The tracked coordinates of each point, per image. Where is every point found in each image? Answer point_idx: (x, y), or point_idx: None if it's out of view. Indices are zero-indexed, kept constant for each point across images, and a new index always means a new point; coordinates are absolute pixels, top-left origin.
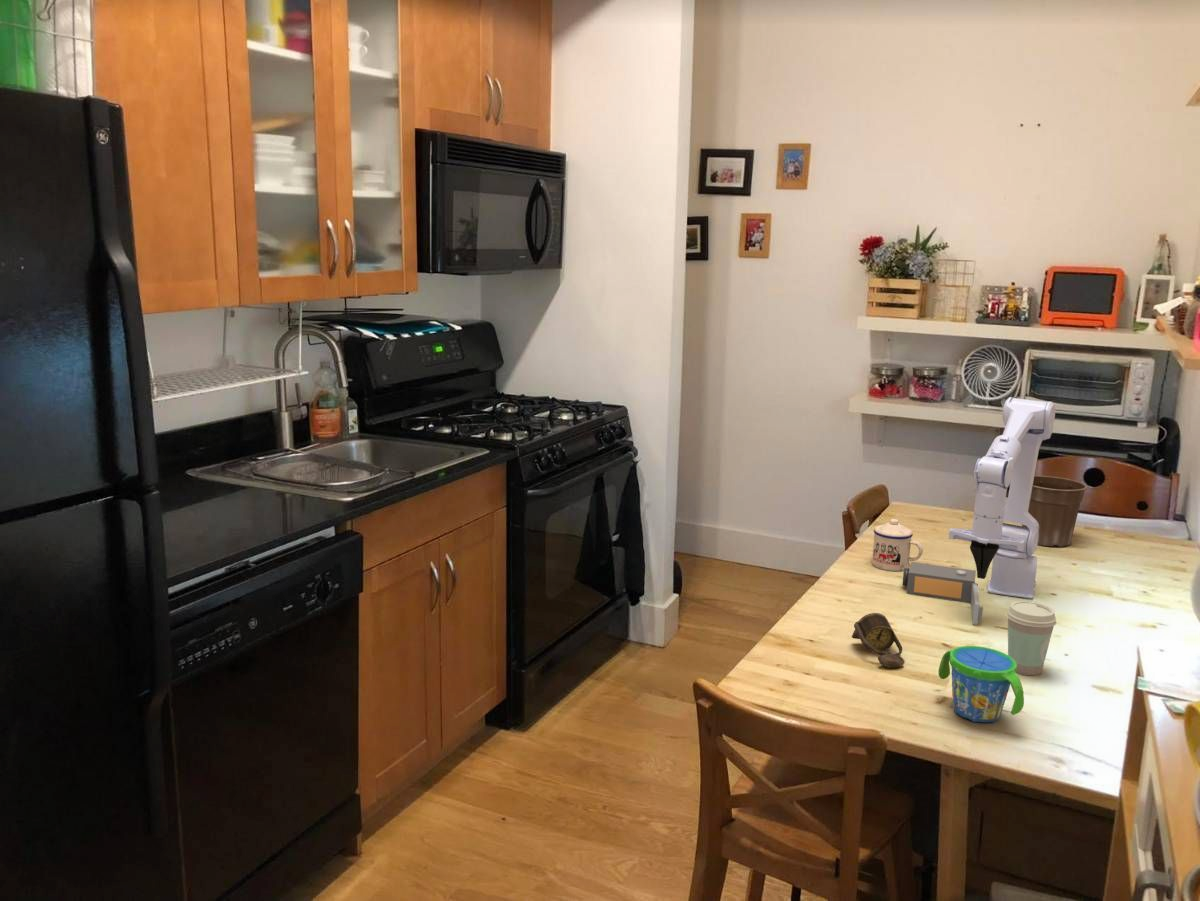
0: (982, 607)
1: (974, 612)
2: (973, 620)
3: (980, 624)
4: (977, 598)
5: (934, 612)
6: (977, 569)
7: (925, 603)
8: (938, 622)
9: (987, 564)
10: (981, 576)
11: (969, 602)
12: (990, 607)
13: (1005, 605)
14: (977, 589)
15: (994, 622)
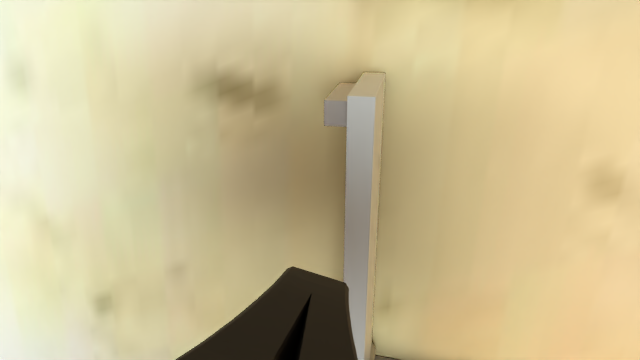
0: (327, 105)
1: (378, 85)
2: (383, 76)
3: None
4: (352, 212)
5: (578, 200)
6: (344, 331)
7: (603, 309)
8: (587, 48)
9: (204, 350)
10: (309, 280)
11: (377, 356)
12: None
13: None
14: None
15: (277, 153)
